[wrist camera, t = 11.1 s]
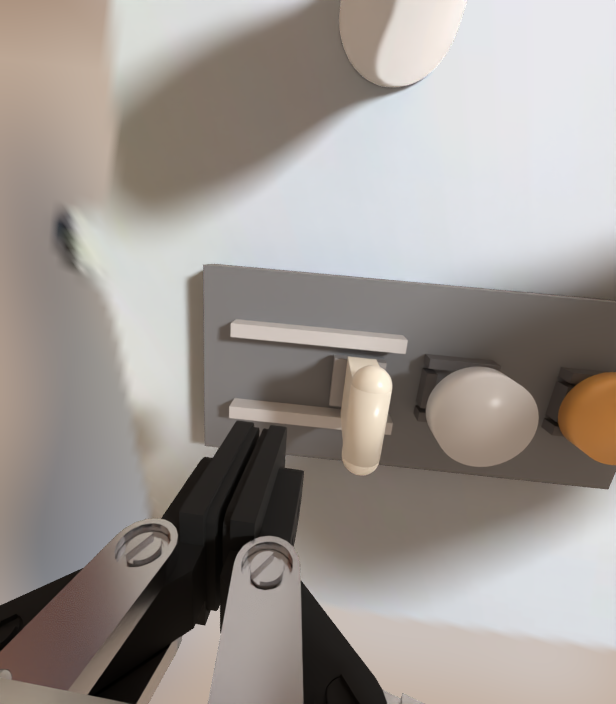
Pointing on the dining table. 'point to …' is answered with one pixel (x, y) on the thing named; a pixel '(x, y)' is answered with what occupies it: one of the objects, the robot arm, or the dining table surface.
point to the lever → (361, 409)
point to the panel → (396, 360)
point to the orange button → (591, 417)
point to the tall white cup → (398, 37)
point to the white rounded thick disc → (481, 416)
